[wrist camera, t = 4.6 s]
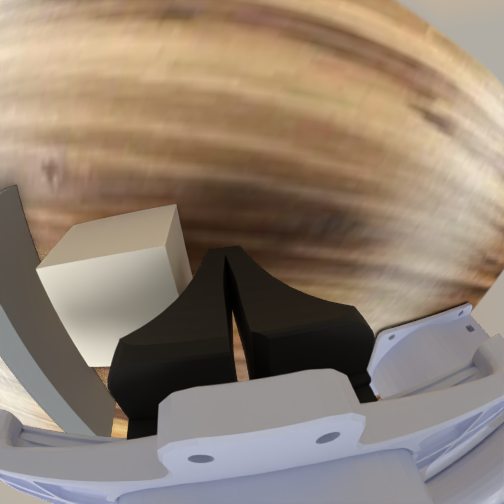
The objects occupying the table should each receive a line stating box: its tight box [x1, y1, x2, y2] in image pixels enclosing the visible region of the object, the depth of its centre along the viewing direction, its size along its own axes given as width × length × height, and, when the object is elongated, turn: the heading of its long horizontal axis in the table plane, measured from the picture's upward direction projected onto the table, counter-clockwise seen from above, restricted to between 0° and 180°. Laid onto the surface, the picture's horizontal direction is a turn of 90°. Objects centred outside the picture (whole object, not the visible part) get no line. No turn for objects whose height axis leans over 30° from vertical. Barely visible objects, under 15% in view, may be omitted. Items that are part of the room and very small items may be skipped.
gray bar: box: [0, 185, 116, 437], centre depth 12 cm, size 2×16×4 cm, turn 4°
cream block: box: [36, 204, 193, 367], centre depth 11 cm, size 5×5×4 cm
